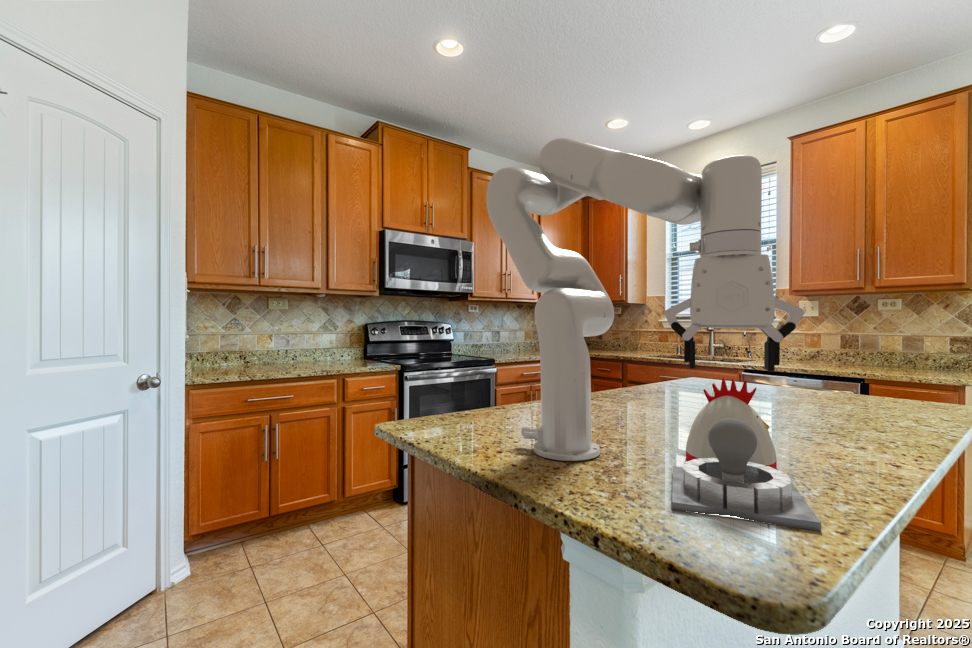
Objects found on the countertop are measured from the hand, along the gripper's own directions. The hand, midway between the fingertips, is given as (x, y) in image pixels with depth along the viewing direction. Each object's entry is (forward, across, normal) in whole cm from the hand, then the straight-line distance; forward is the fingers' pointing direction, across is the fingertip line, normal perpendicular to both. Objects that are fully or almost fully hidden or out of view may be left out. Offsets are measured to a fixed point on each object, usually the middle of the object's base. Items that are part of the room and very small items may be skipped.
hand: (729, 369), depth 62 cm
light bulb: (+17, 0, 0) cm, 17 cm away
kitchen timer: (+18, +2, +17) cm, 25 cm away
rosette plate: (+18, +1, 0) cm, 18 cm away
